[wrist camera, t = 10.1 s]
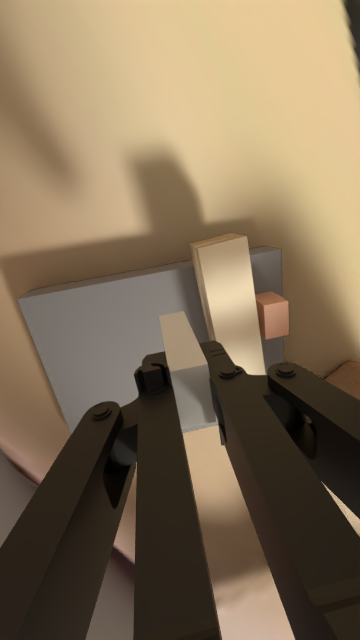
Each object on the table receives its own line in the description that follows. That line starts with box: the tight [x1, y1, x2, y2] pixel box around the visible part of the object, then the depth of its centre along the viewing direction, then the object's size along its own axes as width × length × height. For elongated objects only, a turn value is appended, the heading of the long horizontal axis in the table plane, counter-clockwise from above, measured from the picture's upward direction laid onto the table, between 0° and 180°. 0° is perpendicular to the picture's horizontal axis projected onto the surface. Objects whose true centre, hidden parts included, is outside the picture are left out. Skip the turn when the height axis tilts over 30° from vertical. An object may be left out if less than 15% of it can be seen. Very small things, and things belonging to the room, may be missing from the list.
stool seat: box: [17, 246, 289, 434], centre depth 26 cm, size 17×22×6 cm
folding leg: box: [189, 233, 266, 375], centre depth 23 cm, size 17×4×4 cm, turn 13°
